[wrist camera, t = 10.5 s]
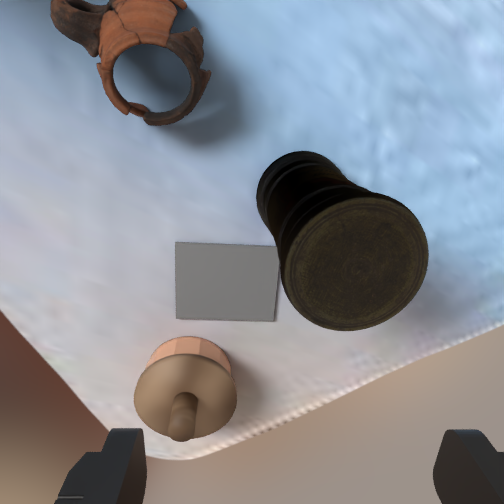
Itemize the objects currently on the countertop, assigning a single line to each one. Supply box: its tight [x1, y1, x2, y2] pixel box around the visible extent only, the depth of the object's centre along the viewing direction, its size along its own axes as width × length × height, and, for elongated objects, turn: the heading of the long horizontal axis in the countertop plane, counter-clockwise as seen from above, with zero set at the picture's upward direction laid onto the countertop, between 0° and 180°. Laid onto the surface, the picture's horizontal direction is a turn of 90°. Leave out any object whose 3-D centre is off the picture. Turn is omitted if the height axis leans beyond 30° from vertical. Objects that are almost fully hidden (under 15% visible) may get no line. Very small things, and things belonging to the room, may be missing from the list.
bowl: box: [145, 336, 231, 374], centre depth 42 cm, size 10×10×4 cm
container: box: [256, 151, 429, 331], centre depth 29 cm, size 9×9×18 cm
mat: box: [175, 242, 279, 321], centre depth 40 cm, size 11×9×1 cm
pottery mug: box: [51, 0, 211, 126], centre depth 29 cm, size 12×10×8 cm
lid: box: [134, 353, 237, 442], centre depth 38 cm, size 11×11×5 cm
